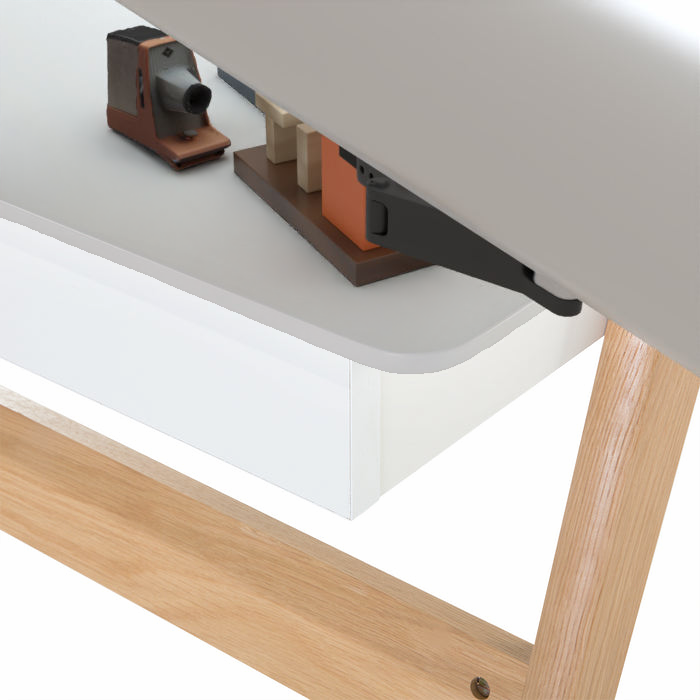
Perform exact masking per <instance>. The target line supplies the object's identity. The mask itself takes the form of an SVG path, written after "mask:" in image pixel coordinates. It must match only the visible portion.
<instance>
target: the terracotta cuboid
mask: <svg viewBox="0 0 700 700" xmlns="http://www.w3.org/2000/svg"><path fill="white" fill-rule="evenodd" d="M321 147H322V215H323V216H324V217H325V218H327V219H328V220H329V221H330V222H331V223H332V224H333V225H334V226H336V227H337V228H338V229H339V230H340V231H341V232H342V233H343V234H345V235H346V236H347V237H348V238H349V239H350V240H351V241H352V242H354V243H355V244H356V245H357V246H358V247H359V248H360V249H361V250H363V251H366V250H370V249H373V248H377V247H381V246H379V245H376V244H373V243H370V242H368V241H367V240H366V239H365V232H366V227H365V217H366V187H365V186H363V185H362V184H361V183H359V182H358V179H357V169H355V168H354V167H353V166H352V165H350V164H349V163H348V162H347V161H345V160H344V159H343V158H342V157H340V156H339V145H338V144H336V143H335V142H333V141H332V140H330V139H329V138H327V137H326V136H324V135H322V134H321Z"/></svg>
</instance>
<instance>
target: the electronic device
mask: <svg viewBox="0 0 700 700" xmlns="http://www.w3.org/2000/svg"><path fill="white" fill-rule="evenodd" d="M105 40H106V71H107V87H106V88H107V103H106V111H105V112H106V123H107V126H108V129H110V130H113V131H116V132H119V133H120V134H122V135H124V136H125V137H127V138H129V139H130V140H132V141H134V142H135V143H136V144H137V145H141V146H143V147H144V148H145V149H149V150H152V151H154V152H155V153H156V155H158V156H160V157H161V158H162V159H163V161H165V162H166V163H168V164H169V165H170V167H171V168H172V170H174V171H181V170H184V169H187V168H190V167H195V166H197V165H201V164H203V163H207V162H211V161H215V160H219V159H221V158H222V157H223V156H224V155H225V151H226V149H228V148H230V147H232V142H231V139H230V138H229V137H228V136H226V135H224V134H223V133H222V132H220V130H218V129H217V128H216V127H215V126H213V125H212V123H211V120H210V117H209V114H208V109H209V107H210V104H211V102H212V99H213V98H212V97H213V91H212V89H211V88H210V87H209V86H207V85H205V84H203V83H202V78H201V75H200V72H199V68H198V64H197V59H196V56H195V54H194V53H195V52H194V51H192V50H191V49H189V48H187V47H186V46H184V45H183V44H181V43H180V42H178V41H177V40H175V39H173V38H172V37H170V36H169V35H167V34H166V33H164V32H163V31H161V30H160V29H158V28H156V27H151V26H147V25H143V24H141V25H140V24H139V25H136V26H132V27H127V28H124V29H116V30H113V31H111V32H110V31H109V32H108V33H107V34H106V38H105Z"/></svg>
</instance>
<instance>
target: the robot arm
mask: <svg viewBox="0 0 700 700" xmlns="http://www.w3.org/2000/svg"><path fill="white" fill-rule="evenodd" d="M114 1H115V2H116V3H118V4H119V5H121V6H123V8H125V9H127V10H128V11H129V12H132V13H133V14H134V15H136V16H138V17H139V18H141V19H143V20H144V21H145V22H148V24H150V25H151V26H153V27H154V28H156V29H158V30H161V31H163V32H164V33H166V34H167V35H169V36H170V37H172V38H173V39H175V40H177V41H178V42H180V43H181V44H183V45H184V46H186V47H187V48H189V49H191V50H192V51H193V53H195V54H197V55H198V56H200V57H202V58H203V59H205V61H207V62H208V63H210V64H212V65H213V66H215V67H216V68H217V67H218V68H220V69H222V70H223V71H225V72H226V73H228V74H229V75H231V76H232V77H234V78H236V79H237V80H239V81H240V82H242V83H243V84H245V85H246V86H248V87H250V88H251V89H253V90H254V91H256V92H257V93H259V94H260V95H262V96H263V97H265V98H267V99H268V100H270V101H271V102H273V103H274V104H276V105H277V106H279V107H281V108H282V109H284V110H285V111H287V112H288V113H290V114H291V115H293V116H295V117H296V118H298V119H299V120H301V121H302V122H304V123H305V124H307V125H308V126H310V127H312V128H313V129H315V130H316V131H318V132H319V133H321V134H322V135H324V136H326V137H327V138H329V139H330V140H332V141H333V142H335V143H336V144H338V145H339V156H340V157H342V158H343V159H344V160H345V161H347V162H348V163H349V164H350V165H352V166H353V167H354V168H355V169H357V179H358V182H359V183H361V184H362V185H363V186H365V187H366V217H365V227H366V232H365V239H366V240H367V241H368V242H370V243H373V244H376V245H379V246H382V247H385V248H388V249H391V250H394V251H397V252H400V253H403V254H406V255H409V256H412V257H414V258H417V259H420V260H423V261H426V262H429V263H432V264H434V265H435V266H437V267H442V268H444V269H448V270H449V271H450V270H451V271H454V272H456V273H458V274H459V273H460V274H462V275H465V276H468V277H472V278H473V279H477V280H480V281H483V282H486V283H489V284H492V285H495V286H498V287H501V288H504V289H507V290H510V291H512V292H515V293H520V294H522V295H523V296H525V297H527V298H529V299H530V300H531V301H533V302H535V304H537V305H540V306H541V307H542V308H544V309H545V310H547V311H549V312H550V313H552V314H554V315H556V316H559V317H562V318H572V317H576V316H578V315H580V314H581V313H582V310H583V304H584V305H586V306H588V307H589V308H591V309H593V310H594V311H595V312H597V313H599V314H600V315H602V316H603V317H605V318H606V319H608V320H609V321H611V322H613V323H614V324H615V325H617V326H619V327H621V328H622V329H623V330H625V331H627V332H628V333H630V334H631V335H633V336H634V337H636V338H637V339H639V340H640V341H642V342H643V343H645V344H647V345H648V346H650V347H651V348H653V349H654V350H656V351H657V352H659V353H660V354H662V355H663V356H665V357H667V358H668V359H670V360H671V361H673V362H674V363H676V364H678V365H679V366H681V367H682V368H684V369H685V370H687V371H689V372H690V373H692V374H694V376H696V377H698V378H699V379H700V0H114Z"/></svg>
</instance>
